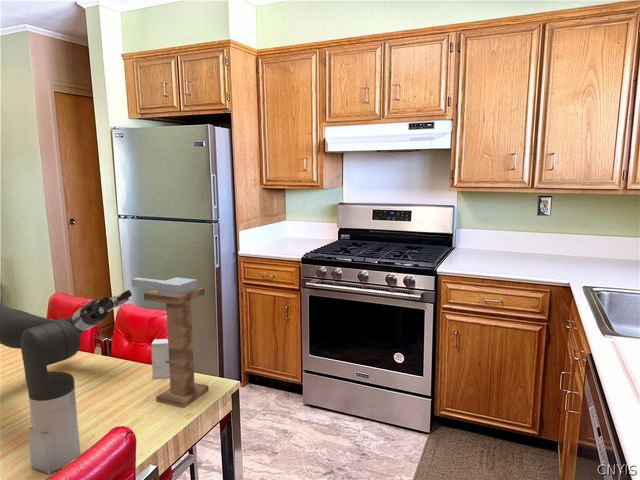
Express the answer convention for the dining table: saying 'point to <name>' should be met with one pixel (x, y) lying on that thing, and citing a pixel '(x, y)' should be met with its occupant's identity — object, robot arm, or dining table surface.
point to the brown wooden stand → (179, 348)
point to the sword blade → (167, 285)
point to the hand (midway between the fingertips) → (119, 295)
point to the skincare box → (160, 358)
